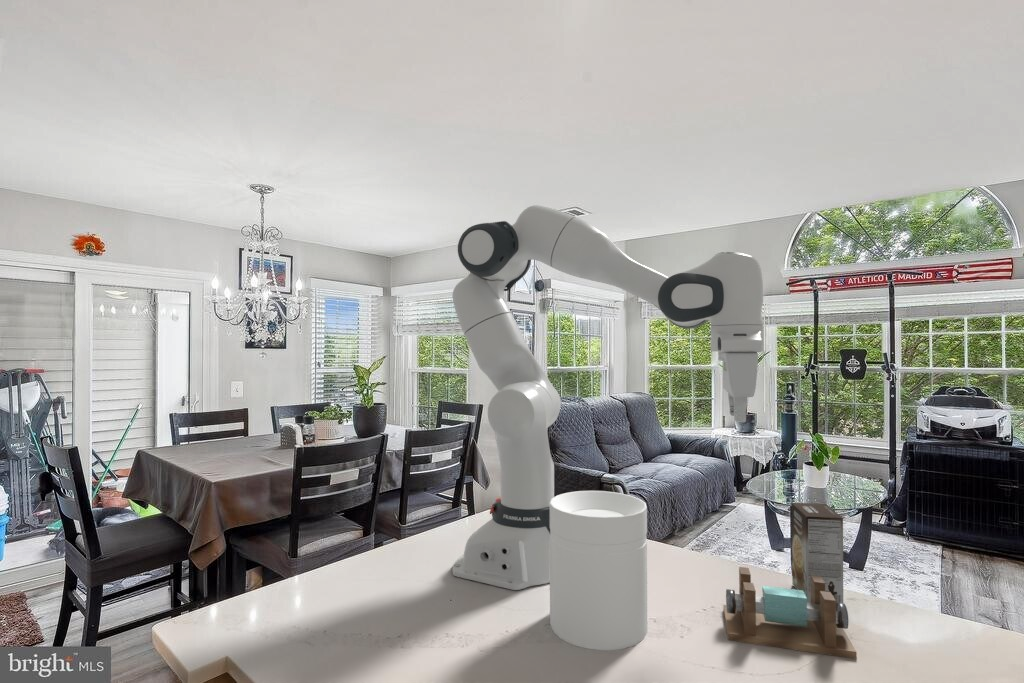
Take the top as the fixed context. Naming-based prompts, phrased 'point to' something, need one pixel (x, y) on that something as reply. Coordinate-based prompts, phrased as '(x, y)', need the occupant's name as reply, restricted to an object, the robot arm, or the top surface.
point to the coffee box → (817, 548)
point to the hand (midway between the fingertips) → (737, 418)
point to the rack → (809, 638)
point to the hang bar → (785, 607)
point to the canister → (598, 569)
